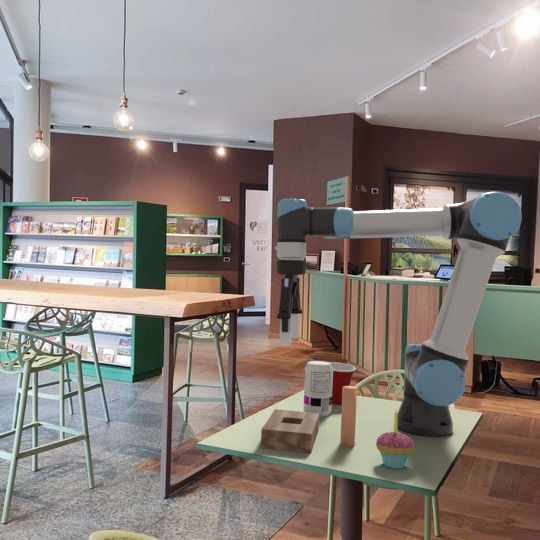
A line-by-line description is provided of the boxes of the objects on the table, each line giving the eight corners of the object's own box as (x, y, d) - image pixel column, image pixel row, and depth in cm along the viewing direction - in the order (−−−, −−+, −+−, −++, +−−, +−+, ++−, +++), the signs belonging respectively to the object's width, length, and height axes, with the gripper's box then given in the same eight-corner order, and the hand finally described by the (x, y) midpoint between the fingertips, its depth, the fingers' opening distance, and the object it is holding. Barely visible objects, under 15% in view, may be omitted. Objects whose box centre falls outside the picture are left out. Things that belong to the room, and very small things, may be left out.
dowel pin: (354, 442, 135) (357, 386, 135) (354, 447, 132) (356, 389, 131) (340, 441, 136) (342, 385, 136) (339, 445, 132) (342, 388, 132)
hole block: (318, 430, 144) (319, 413, 144) (311, 453, 126) (311, 433, 126) (274, 425, 146) (274, 409, 146) (260, 447, 129) (261, 428, 128)
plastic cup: (341, 408, 166) (342, 369, 166) (313, 401, 174) (315, 364, 174) (361, 403, 174) (362, 365, 174) (334, 396, 182) (335, 360, 181)
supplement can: (297, 413, 160) (299, 362, 159) (314, 408, 166) (316, 359, 166) (320, 419, 154) (322, 366, 154) (336, 413, 161) (338, 363, 160)
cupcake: (373, 456, 126) (375, 405, 125) (411, 459, 125) (413, 407, 124) (377, 470, 117) (379, 415, 117) (417, 473, 116) (419, 418, 116)
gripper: (285, 259, 153) (284, 334, 153) (267, 258, 128) (265, 348, 129) (311, 260, 151) (310, 335, 151) (298, 259, 127) (296, 349, 127)
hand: (289, 341), depth 140 cm, fingers open, 13 cm apart
